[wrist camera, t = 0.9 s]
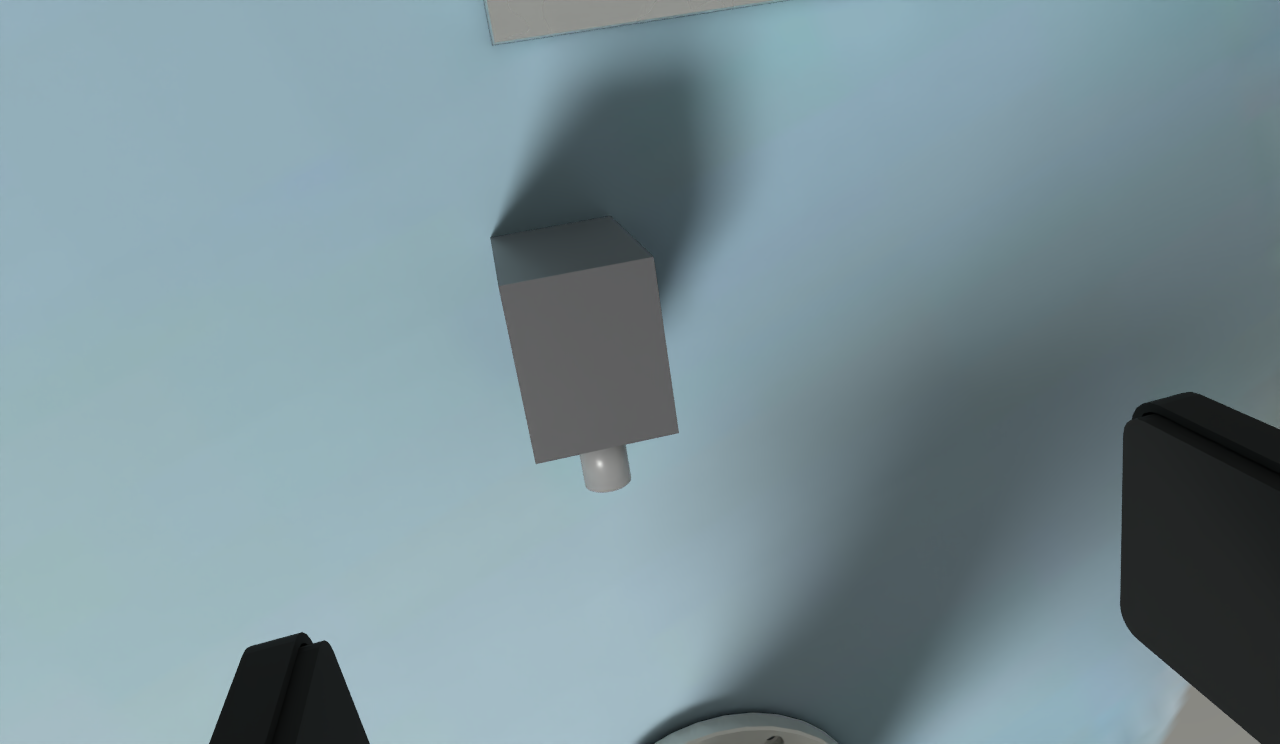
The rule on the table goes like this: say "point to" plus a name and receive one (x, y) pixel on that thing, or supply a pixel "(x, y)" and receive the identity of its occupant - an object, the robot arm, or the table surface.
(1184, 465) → the robot arm
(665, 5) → the socket plate
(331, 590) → the table surface
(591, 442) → the plug
